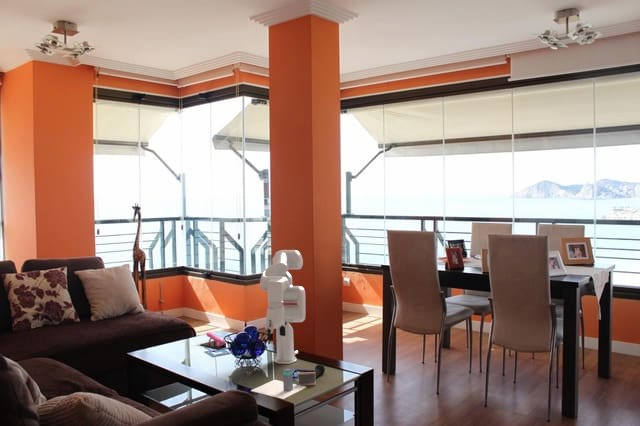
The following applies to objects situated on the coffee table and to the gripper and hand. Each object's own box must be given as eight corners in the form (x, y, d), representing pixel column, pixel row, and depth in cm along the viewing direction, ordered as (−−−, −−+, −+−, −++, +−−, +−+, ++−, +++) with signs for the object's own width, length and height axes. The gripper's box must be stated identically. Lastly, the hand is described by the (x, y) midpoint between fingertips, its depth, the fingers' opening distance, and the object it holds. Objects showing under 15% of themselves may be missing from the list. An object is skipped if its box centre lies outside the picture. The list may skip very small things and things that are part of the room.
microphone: (310, 390, 273) (325, 373, 290) (312, 380, 272) (327, 364, 288) (300, 385, 275) (316, 369, 292) (303, 376, 273) (318, 361, 290)
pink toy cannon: (215, 340, 360) (215, 329, 359) (236, 345, 347) (236, 334, 347) (197, 345, 348) (197, 334, 348) (218, 351, 336) (218, 339, 335)
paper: (274, 380, 280) (274, 379, 280) (306, 387, 268) (306, 386, 268) (250, 391, 265) (250, 390, 265) (283, 399, 254) (283, 398, 254)
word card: (297, 384, 272) (297, 372, 272) (315, 383, 273) (315, 372, 273) (297, 385, 271) (297, 373, 271) (315, 384, 272) (315, 372, 271)
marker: (287, 388, 267) (287, 368, 266) (293, 389, 265) (292, 369, 264) (283, 390, 264) (282, 370, 264) (288, 391, 262) (288, 371, 262)
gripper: (280, 299, 282) (281, 332, 283) (258, 307, 268) (259, 341, 269) (292, 301, 278) (293, 334, 279) (270, 309, 264) (271, 344, 265)
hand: (276, 338), depth 274 cm, fingers open, 9 cm apart
